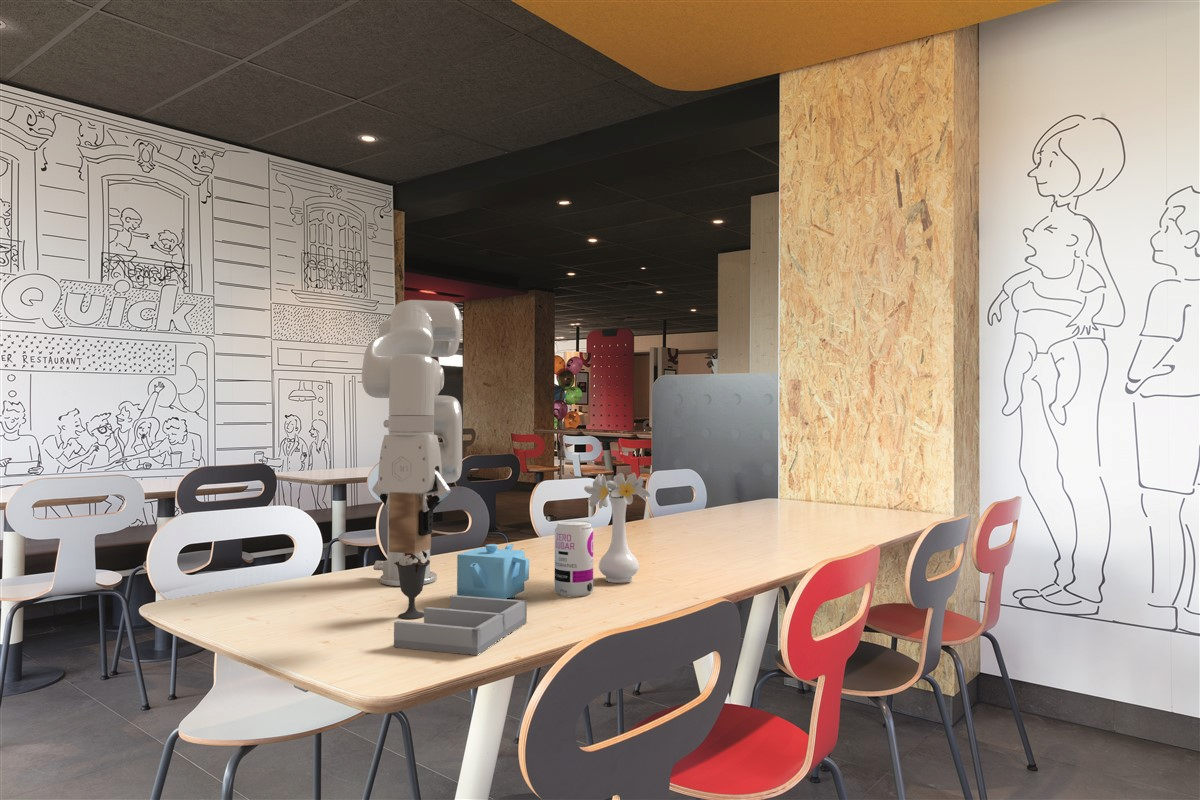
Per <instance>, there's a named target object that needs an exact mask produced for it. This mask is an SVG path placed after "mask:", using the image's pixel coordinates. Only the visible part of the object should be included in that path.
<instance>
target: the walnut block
mask: <svg viewBox="0 0 1200 800" xmlns="http://www.w3.org/2000/svg"><path fill="white" fill-rule="evenodd" d="M419 512H422V508H421V504H420V500H419V494H405V493H389V552H397V553H412V554H415V553H419V552H422V551H426V550H429V549H430V550H432V533H431V534H428V535H425V536H420V535H419Z"/></svg>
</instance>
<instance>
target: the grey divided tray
mask: <svg viewBox="0 0 1200 800" xmlns="http://www.w3.org/2000/svg"><path fill="white" fill-rule="evenodd" d="M527 602H528V601H527V600H523V599H522V600H520V599H519V600H518V599H497V598H484V597H471V596H458V595H457V594H454V595H453V594H452V595H450V597H449V608H443V607H432V606H431V607H430V606H426V607H424V608H423V613H424V617H423V622H415V621H414V622H413V621H405V620H395V621H394V622H393V647H394V648H400V649H401V648H402V649H410V650H417V651H418V650H419V651H429V652H431V651H432V652H437V653H439V652H440V653H450V654H457V653H461V654H460V655H467V654H471V655H470V656H476V655H478V654H479V653H481V652H482V653H484V652H485V651H487V650H488V649H489V648H488V647H490V646H491V645H493V644H494V643H495V642H497V641H498V640H500V639H501V638H503V637H505V636H506V635H508V634H509V633H511V632H512V633H514V632H515V631H516V630H515V629H517V628H518V627H520V626H521V627H523V626H524V625H526V624H527V623H526V622H527V619H528V618H527V610H528V609H527V608H528V607H527V606H528V603H527ZM525 623H526V624H525ZM523 624H524V625H523ZM522 625H523V626H522ZM521 627H520V628H521ZM518 629H519V628H518ZM518 629H517V630H518ZM514 630H515V631H514ZM513 631H514V632H513ZM512 633H511V634H512ZM509 635H510V634H509ZM509 635H508V636H509ZM506 637H507V636H506ZM506 637H505V638H506ZM503 639H504V638H503ZM500 641H501V640H500ZM497 643H498V642H497ZM494 645H495V644H494ZM494 645H493V646H494ZM491 647H492V646H491ZM491 647H490V648H491ZM487 648H488V649H487ZM486 649H487V650H486ZM484 650H485V651H484ZM483 651H484V652H483ZM482 653H481V654H482ZM479 655H480V654H479ZM479 655H478V656H479Z"/></svg>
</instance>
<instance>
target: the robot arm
mask: <svg viewBox="0 0 1200 800" xmlns="http://www.w3.org/2000/svg"><path fill="white" fill-rule="evenodd" d="M378 328H379V329H378V337H376V338H374V339H373V340H372V341H371V342H370V343H369V344H368V345H367V347H366V349H365V352H364V355H363V359H362V368H361V383H362V387H363V388H362V389H364V391H365V394H366V395H368V396H369V397H371V398H374V399H375V398H376V399H388V419H385V420H383V427H384V428H387V429H388V431H387V432H388V434H384V436H383V438H382V439H383V440H382V443H381V447H380V452H379V461H378V462H379V463H378V472H377V473H378V474H377V475H378V477H377V481H376V482H375V484H374V486H373V487H372V489H371V490H372V492H373V493H374V494H375V495H376V496H377V497H378V498H380V501H381V502H382V503H383V504H384V507H385V510H386V511H387V542H386V543H387V545H386V546H387V552H386V553H387V554H386V555H387V557H386V558H387V559H386V560H375V562H374V564H373V568H372V569H373V570H374V571H382V575H380V578H379V582H380V583H381V584H383V585H387V586H393V587H400V581H399V573H398V567H397V565H396V564H394V563H396V562H399V560H400V558H401V557H402V556H403V554H404V553H397V552H389V493H405V494H419V500H420V504H421V508H422V512H419V535H420V536H425V535H428V534H431V535H432V533H433V532H432V531H433V528H434V511H435V510H436V509H437V507H438V506H439V505H440V504H441V503H442V501H443V500H444V499H446V497H448V496H449V495H450V494H451V488H450V486H449V485H448V484H452V483H455V482H458V480H459V479H460V478H461V475H462V470H463V469H462V468H463V413H462V407H461V404H460V402H459V400H458V399H457V398H456V397H454V396H451V395H439V394H440V392H441V390H443V388H444V385H445V372H444V368H443V366H441V364H440V363H439V361H438V360H436V359H435V358H449V357H453V356H454V355H456V353H457V352H458V350H459V348H460V347H459V346H460V341H461V336H462V330H463V319H462V315H461V312H460V310H459V308H458V307H457V305H455V303H454V302H451V301H448V300H447V301H446V300H443V301H442V300H423V299H408V300H404V301H401V302H399V303H397V304H396V305H395V306H394V307H393V309H392V310H391V313H390V318H389V319H386V320H383V321H382V322H381V323H380V324H379V327H378ZM438 437H439V438H440V439H442V442H440V441H439V438H438ZM434 493H435V495H434ZM424 552H426V553H427V557H426V559H427V560H430V561H431V549H429V550H426V551H424ZM437 575H438V574H437V573H435V572H434V571H431V562H430V563H429V565H427V566H426V571H425V578H424V585H426V584H430V583H433V582H435V581H436V580H438V579H437V577H438V576H437Z"/></svg>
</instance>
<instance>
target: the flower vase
mask: <svg viewBox="0 0 1200 800" xmlns="http://www.w3.org/2000/svg"><path fill="white" fill-rule="evenodd" d="M643 486H644V478H643V477H642V476H641V475H639V476H638V477H637V474H636V473H635V472H632V473H630V475H629V474H628V476H627V479H626V480H625V475H624V473H622V472H619V473H617V475H614V476H613V480H607V478H606V475H604V474H603V473H602V474H600V473H598V475H597V476H596V477H595V478H594V480H593V481H592V485H586V486H584V488H583V489H584V491H585V492H586V493H587V494H589V495H590V496H589V497H588V499H587V502H589V506H590V507H591V508H593V507H596V505H597V504H598V508H599V509H602V508H603V507H604V508H608V507H609V502H610V505H611V506H610V507H611V513H612V514H611V515H612V526H611V527H612V528H611V529H612V531H611V540H610V544H609V547H608V549H607V551H606V552H605V553H604V555H603V556H602V557H601V558H600V560H599V562H598V569H599V571H600V573H601V574H602V575H603V576H604V577H605V581H606V582H607V581H608V582H607V583H611V584H627V583H631V582H632V581H633V576H635V575H636V574H637V572H638V571H639V569H640V562H639V560H638V558H637V557H636V556H635V555H634V554H633V553H632V552H631V549H630V547H629V545H628V541H627V532H626V530H627V528H626V527H627V525H626V515H627V514H626V512H627V505H632V504H633V502H634V497H633V495H638V496H639V497H640V498H642V499H643V500H644V502H646V503H648V499H647V498H650V497H651V494H650V493H649V491H648V490H646V488H644V487H643ZM607 497H608V498H607ZM646 497H647V498H646ZM608 500H609V502H608Z"/></svg>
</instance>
